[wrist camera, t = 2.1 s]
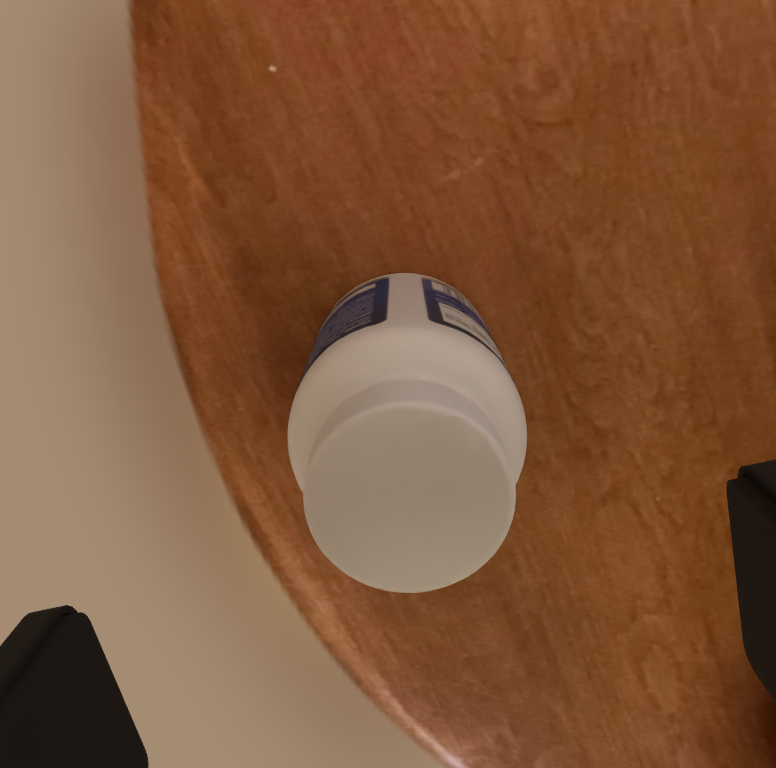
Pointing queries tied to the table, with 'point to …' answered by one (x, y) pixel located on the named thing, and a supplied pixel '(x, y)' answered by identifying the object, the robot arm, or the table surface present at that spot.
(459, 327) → the pill bottle
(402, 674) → the table surface
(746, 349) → the table surface
